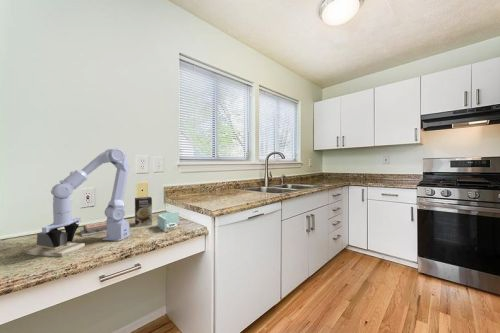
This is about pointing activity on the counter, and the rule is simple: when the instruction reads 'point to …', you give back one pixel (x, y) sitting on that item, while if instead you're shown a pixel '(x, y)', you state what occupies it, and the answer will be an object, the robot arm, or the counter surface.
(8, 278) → the counter surface
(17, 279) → the counter surface
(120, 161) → the robot arm
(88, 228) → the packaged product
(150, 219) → the coffee box
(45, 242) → the block
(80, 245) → the pine board
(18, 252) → the counter surface
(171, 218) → the pale turquoise carton
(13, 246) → the counter surface
